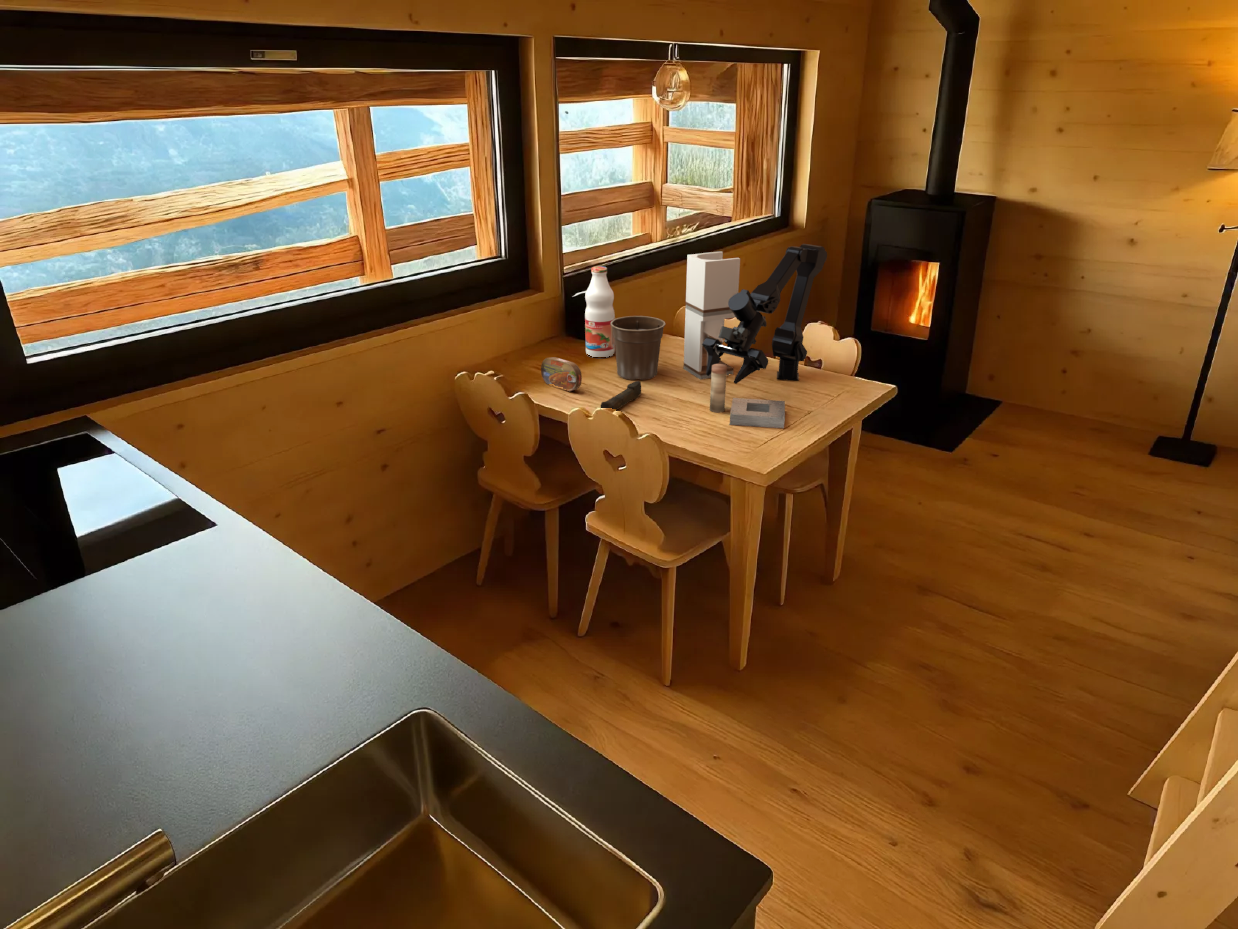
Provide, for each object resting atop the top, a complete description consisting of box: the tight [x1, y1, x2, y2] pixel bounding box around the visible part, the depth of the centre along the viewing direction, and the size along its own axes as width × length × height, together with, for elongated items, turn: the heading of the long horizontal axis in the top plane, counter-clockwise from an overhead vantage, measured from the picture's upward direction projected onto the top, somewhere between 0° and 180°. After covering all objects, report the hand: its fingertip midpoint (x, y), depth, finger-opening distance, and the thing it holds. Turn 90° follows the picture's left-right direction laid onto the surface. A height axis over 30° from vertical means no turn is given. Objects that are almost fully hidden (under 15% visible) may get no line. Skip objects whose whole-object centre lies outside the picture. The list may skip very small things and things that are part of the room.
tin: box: [540, 356, 583, 392], centre depth 245 cm, size 15×3×8 cm, turn 47°
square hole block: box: [729, 397, 786, 429], centre depth 225 cm, size 12×14×3 cm
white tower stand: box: [683, 251, 741, 380], centre depth 251 cm, size 11×11×35 cm
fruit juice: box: [584, 265, 616, 358], centre depth 268 cm, size 9×9×28 cm
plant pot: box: [611, 315, 666, 381], centre depth 253 cm, size 16×16×16 cm
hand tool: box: [600, 380, 642, 410], centre depth 234 cm, size 19×4×5 cm, turn 147°
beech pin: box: [709, 364, 727, 414], centre depth 228 cm, size 4×4×12 cm
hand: (720, 379), depth 227 cm, fingers open, 9 cm apart
